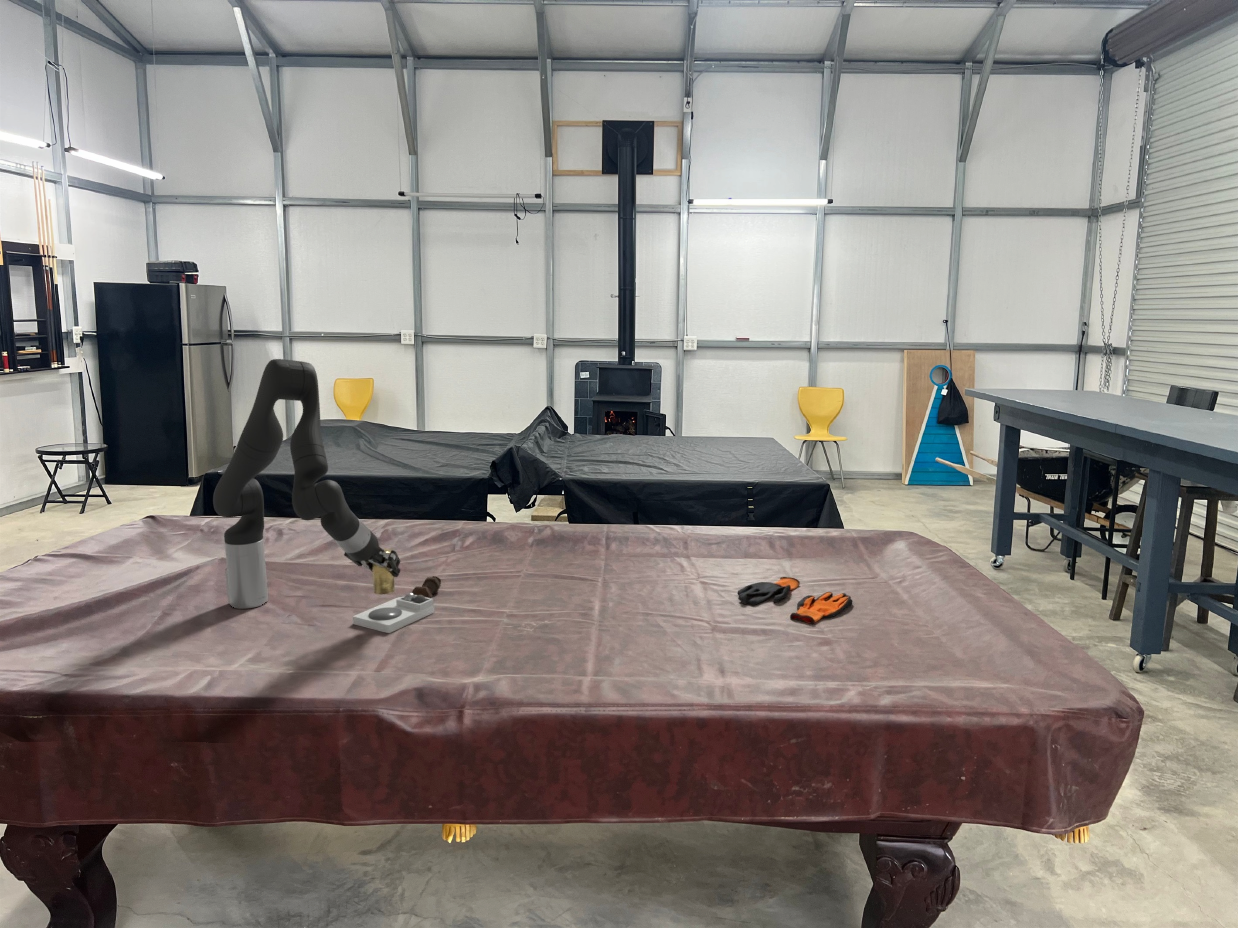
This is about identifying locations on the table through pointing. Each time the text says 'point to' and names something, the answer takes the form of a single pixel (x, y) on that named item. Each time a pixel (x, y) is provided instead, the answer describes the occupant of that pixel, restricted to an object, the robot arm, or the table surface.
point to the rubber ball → (419, 599)
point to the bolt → (428, 587)
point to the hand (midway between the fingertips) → (387, 572)
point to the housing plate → (394, 614)
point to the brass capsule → (382, 579)
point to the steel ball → (409, 597)
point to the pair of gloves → (806, 606)
